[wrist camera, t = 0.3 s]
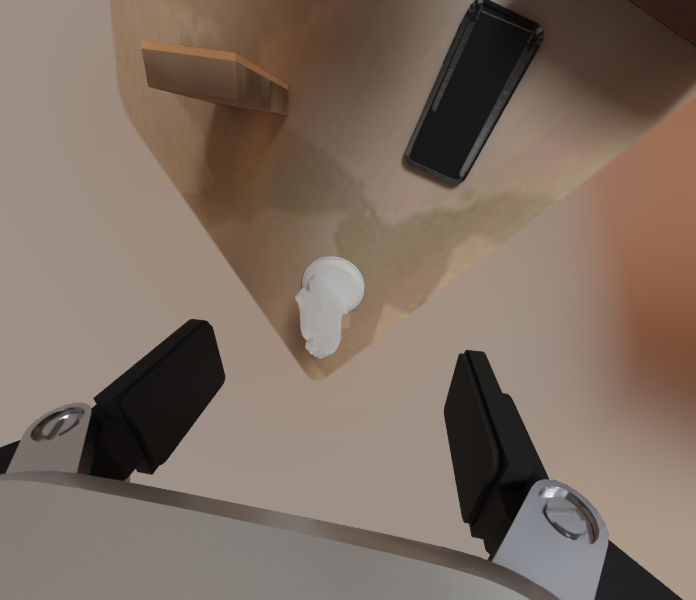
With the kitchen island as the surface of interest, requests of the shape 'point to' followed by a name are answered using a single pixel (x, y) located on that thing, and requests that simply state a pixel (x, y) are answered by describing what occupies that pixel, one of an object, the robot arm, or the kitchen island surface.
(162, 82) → the tan flat block
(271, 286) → the kitchen island surface
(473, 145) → the phone
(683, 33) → the letter holder
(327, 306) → the chess piece
